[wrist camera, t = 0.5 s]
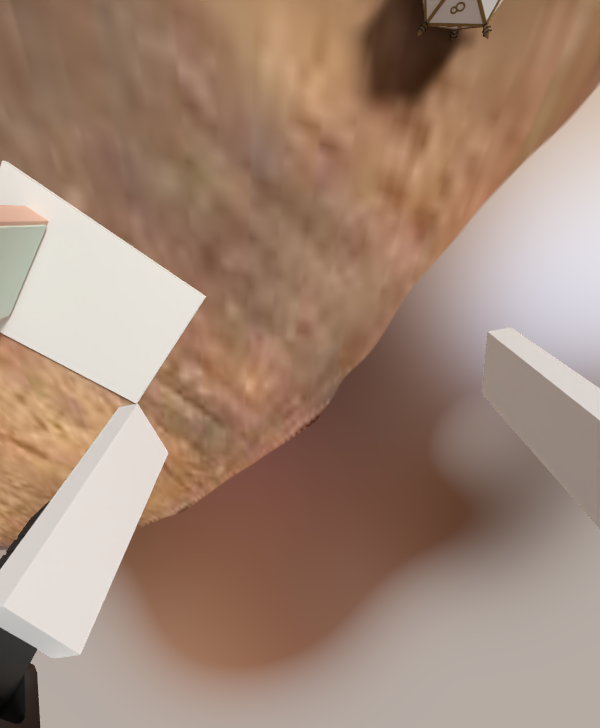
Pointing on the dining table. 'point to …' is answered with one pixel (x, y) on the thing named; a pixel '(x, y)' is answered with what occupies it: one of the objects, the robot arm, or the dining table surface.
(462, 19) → the game die
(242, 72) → the dining table surface
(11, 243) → the terracotta tile
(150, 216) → the dining table surface
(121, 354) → the rubber mat
